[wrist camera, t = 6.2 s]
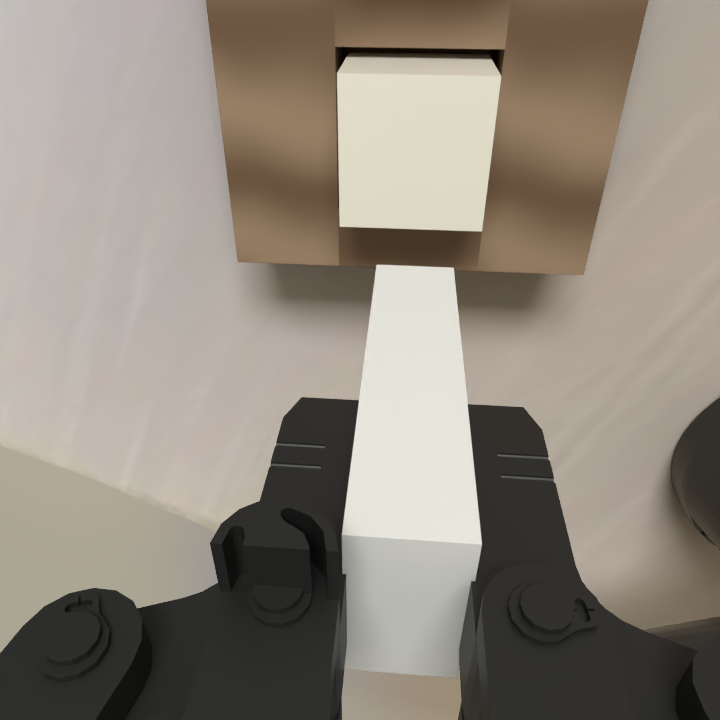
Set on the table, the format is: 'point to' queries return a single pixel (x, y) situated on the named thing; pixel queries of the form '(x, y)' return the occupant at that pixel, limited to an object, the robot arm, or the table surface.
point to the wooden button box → (432, 36)
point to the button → (415, 139)
